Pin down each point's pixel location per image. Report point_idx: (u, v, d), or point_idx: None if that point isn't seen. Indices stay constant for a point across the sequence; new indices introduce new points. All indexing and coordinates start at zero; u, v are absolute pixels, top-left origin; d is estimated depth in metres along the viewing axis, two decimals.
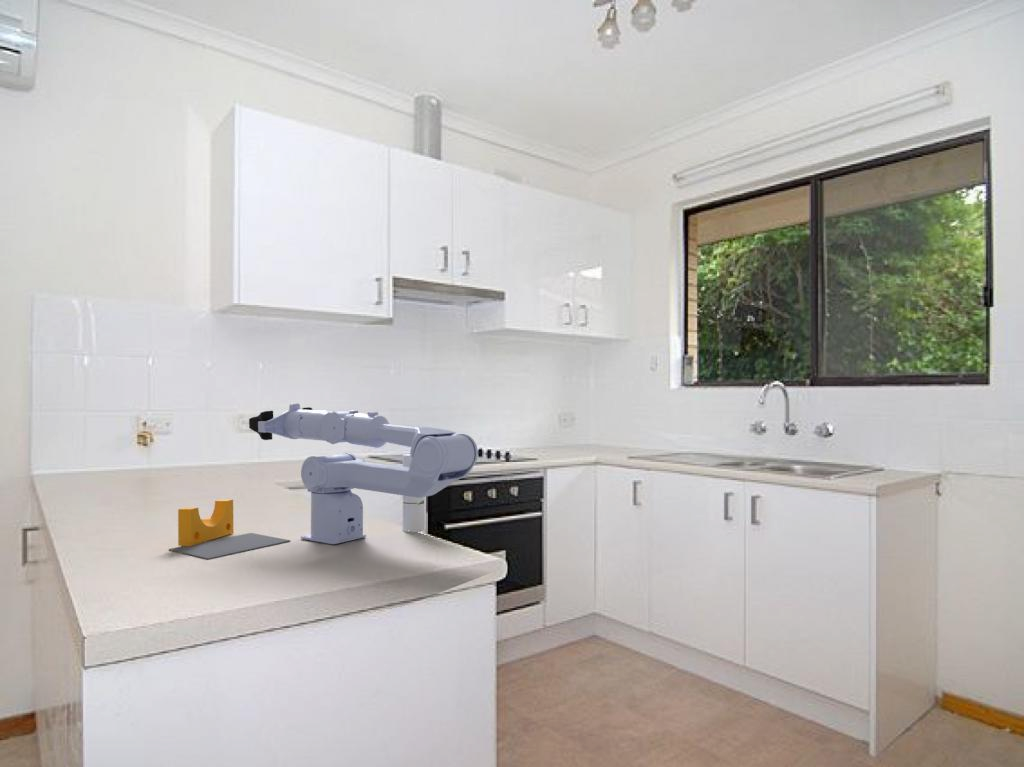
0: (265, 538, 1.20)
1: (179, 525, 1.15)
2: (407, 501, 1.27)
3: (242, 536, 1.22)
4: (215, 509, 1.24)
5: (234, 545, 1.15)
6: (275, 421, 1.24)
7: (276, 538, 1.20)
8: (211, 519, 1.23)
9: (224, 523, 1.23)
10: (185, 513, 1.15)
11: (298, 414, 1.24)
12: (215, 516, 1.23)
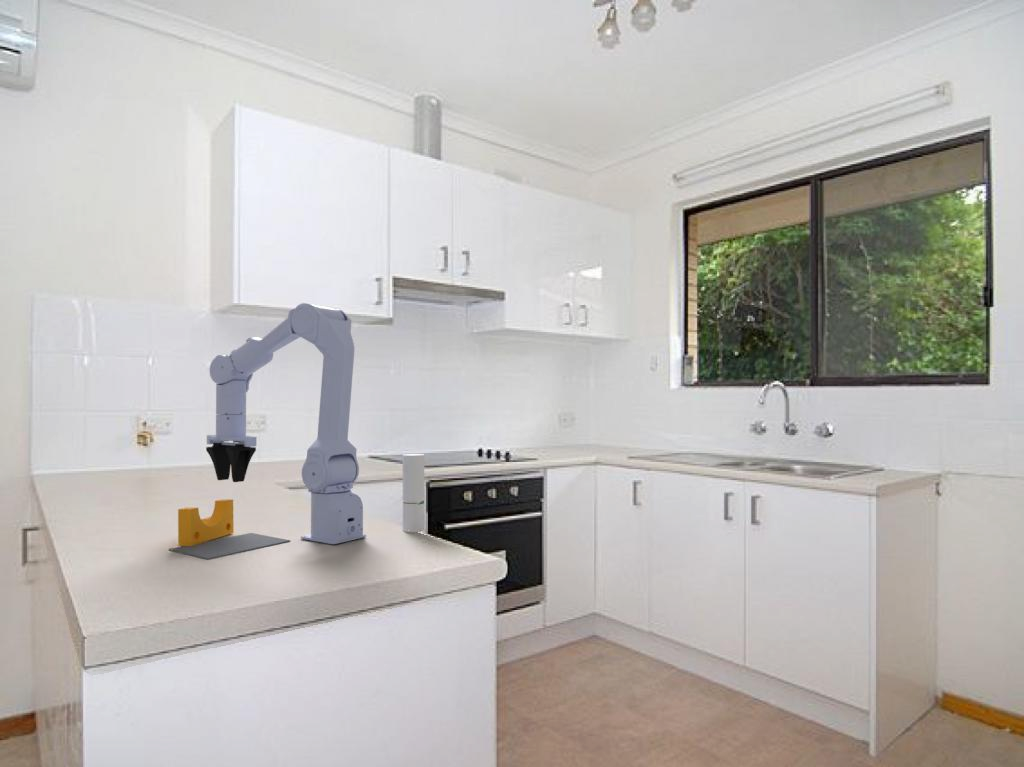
0: (265, 538, 1.20)
1: (179, 525, 1.15)
2: (407, 501, 1.27)
3: (242, 536, 1.22)
4: (215, 509, 1.24)
5: (234, 545, 1.15)
6: (240, 437, 1.30)
7: (276, 538, 1.20)
8: (211, 519, 1.23)
9: (224, 523, 1.23)
10: (185, 513, 1.15)
11: (227, 420, 1.30)
12: (215, 516, 1.23)
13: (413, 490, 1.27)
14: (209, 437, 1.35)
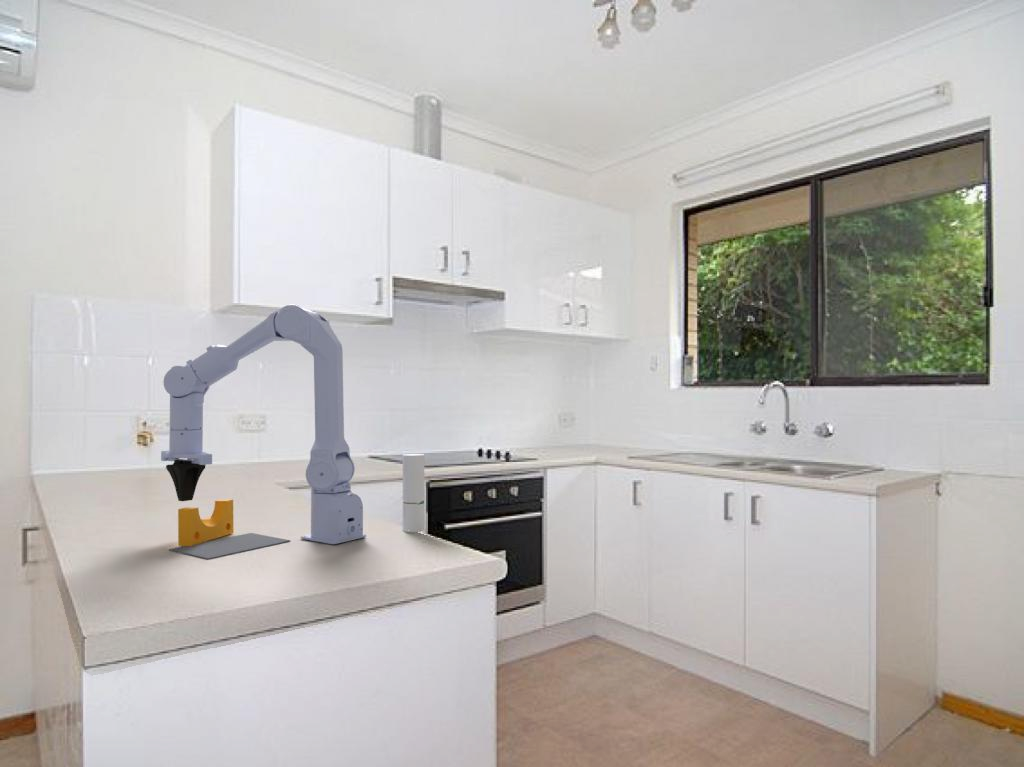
0: (265, 538, 1.20)
1: (179, 525, 1.15)
2: (407, 501, 1.27)
3: (242, 536, 1.22)
4: (215, 509, 1.24)
5: (234, 545, 1.15)
6: None
7: (276, 538, 1.20)
8: (211, 519, 1.23)
9: (224, 523, 1.23)
10: (185, 513, 1.15)
11: (181, 436, 1.21)
12: (215, 516, 1.23)
13: (413, 490, 1.27)
14: (163, 453, 1.26)
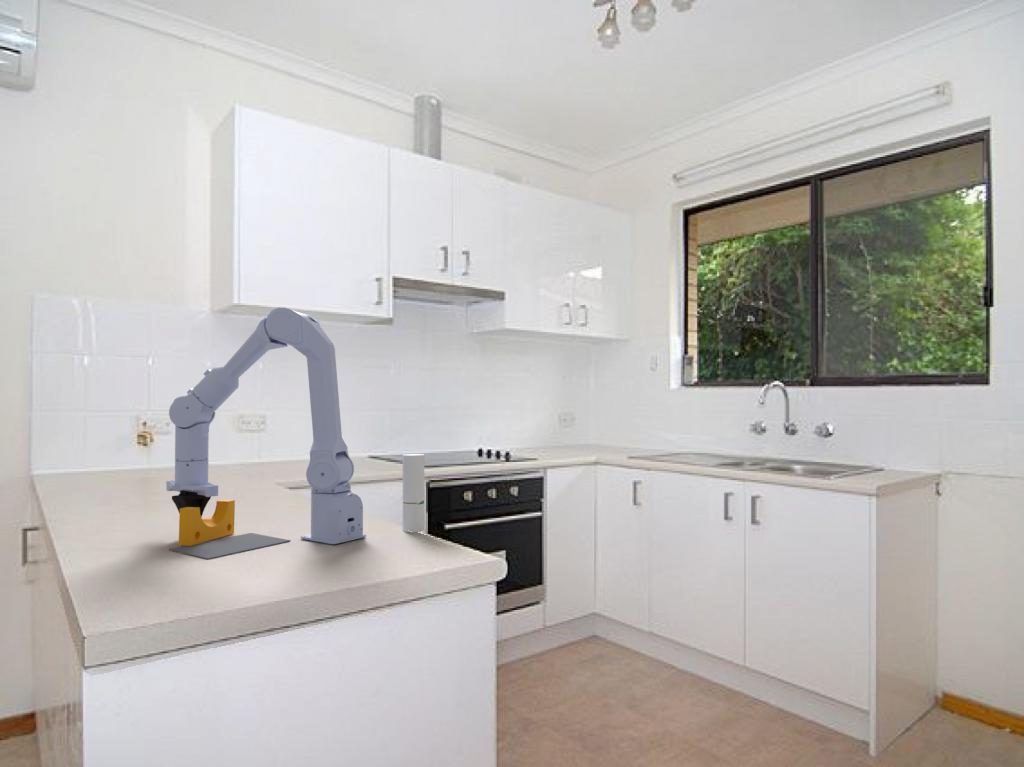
0: (265, 538, 1.20)
1: (180, 525, 1.15)
2: (407, 501, 1.27)
3: (242, 536, 1.22)
4: (216, 509, 1.24)
5: (234, 545, 1.15)
6: (201, 486, 1.20)
7: (276, 538, 1.20)
8: (212, 519, 1.23)
9: (225, 523, 1.23)
10: (186, 513, 1.14)
11: (187, 467, 1.20)
12: (216, 516, 1.23)
13: (413, 490, 1.27)
14: (169, 483, 1.25)
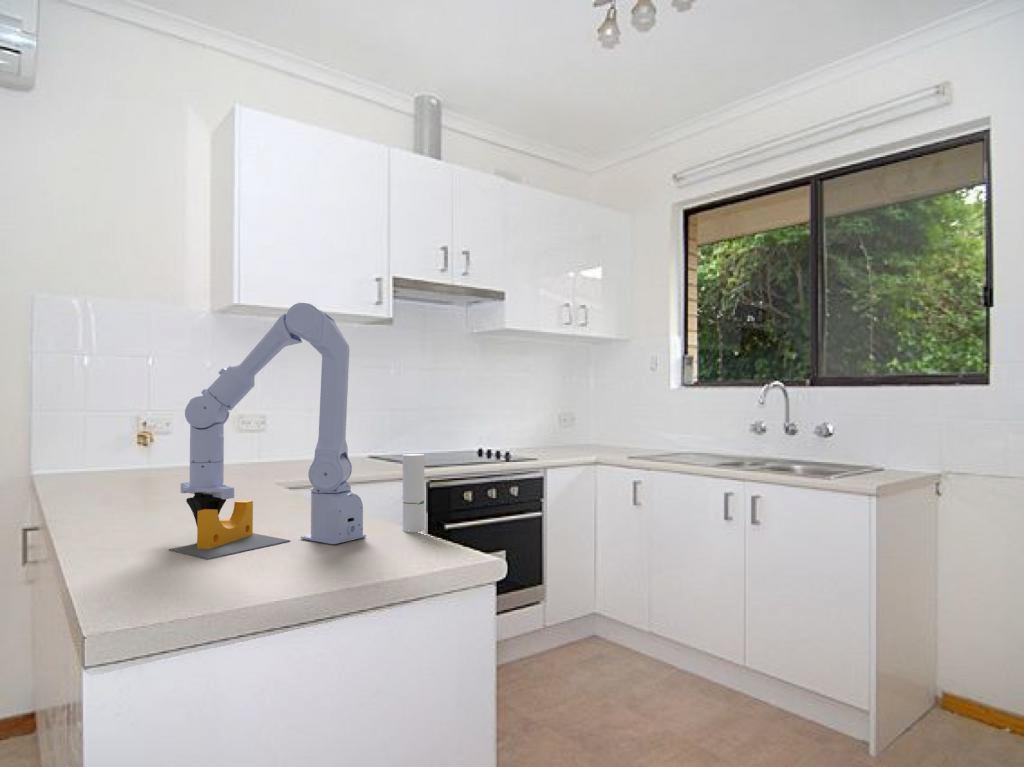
0: (265, 538, 1.20)
1: (198, 527, 1.13)
2: (407, 501, 1.27)
3: None
4: (234, 510, 1.22)
5: (234, 545, 1.15)
6: (216, 488, 1.17)
7: (276, 538, 1.20)
8: (230, 520, 1.21)
9: (243, 525, 1.21)
10: (204, 516, 1.12)
11: (202, 468, 1.17)
12: (234, 517, 1.21)
13: (413, 490, 1.27)
14: (183, 485, 1.22)
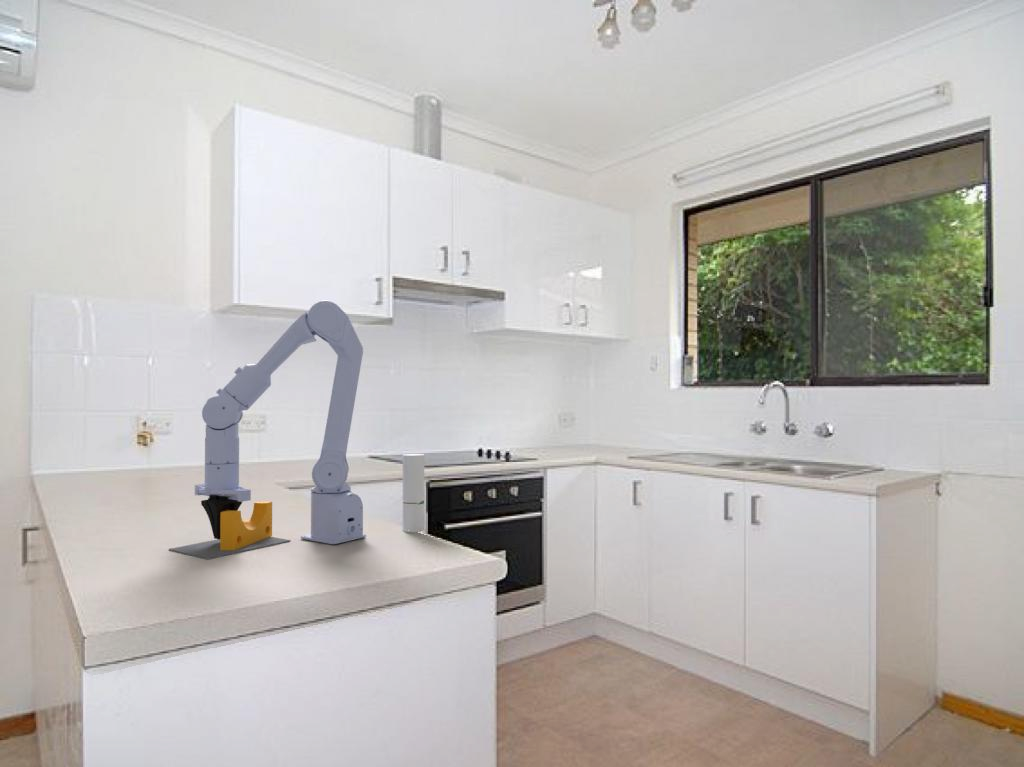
0: (265, 538, 1.20)
1: (221, 529, 1.11)
2: (407, 501, 1.27)
3: None
4: (254, 511, 1.21)
5: None
6: (232, 490, 1.14)
7: (276, 538, 1.20)
8: (250, 522, 1.20)
9: (264, 526, 1.20)
10: (228, 517, 1.11)
11: (218, 470, 1.15)
12: (254, 518, 1.20)
13: (413, 490, 1.27)
14: (197, 487, 1.20)
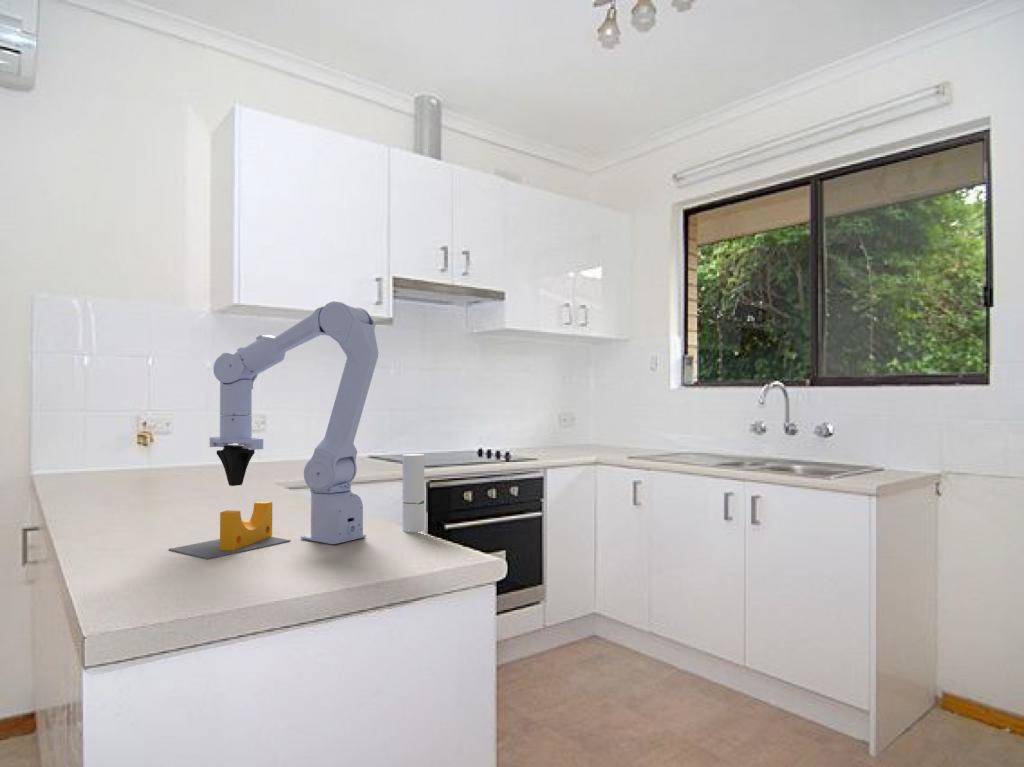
0: (265, 538, 1.20)
1: (221, 529, 1.11)
2: (407, 501, 1.27)
3: None
4: (254, 511, 1.21)
5: None
6: None
7: (276, 538, 1.20)
8: (250, 522, 1.20)
9: (264, 526, 1.20)
10: (227, 517, 1.11)
11: (232, 421, 1.24)
12: (254, 518, 1.20)
13: (413, 490, 1.27)
14: (212, 439, 1.29)
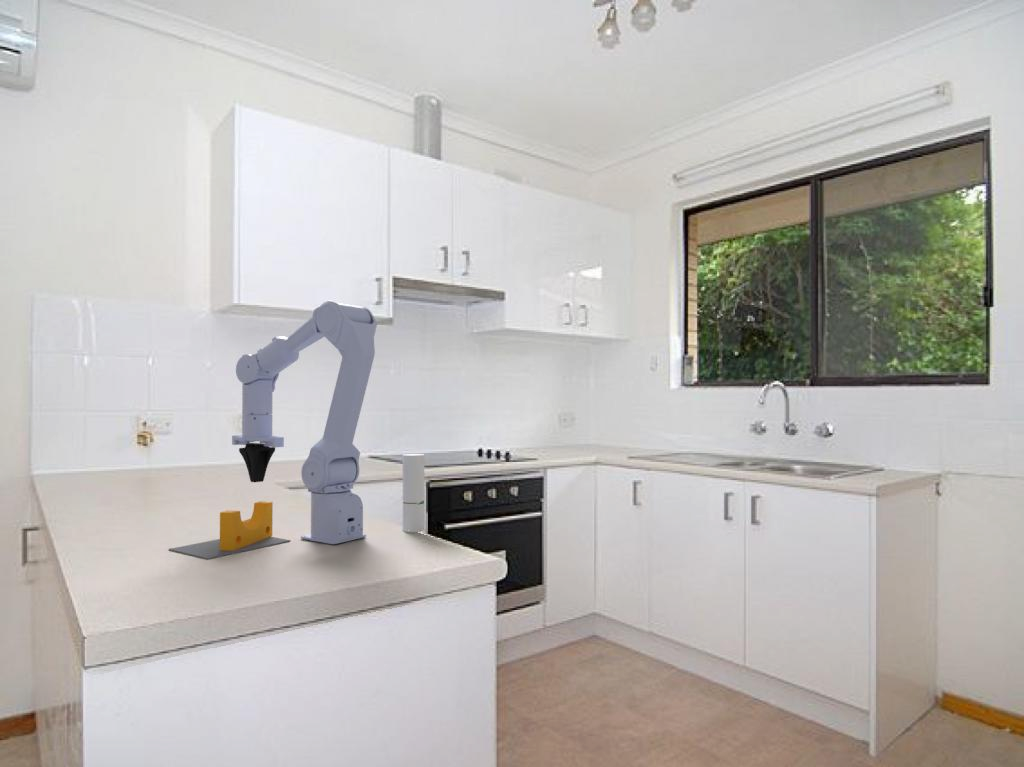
0: None
1: (221, 529, 1.11)
2: (407, 501, 1.27)
3: None
4: (254, 511, 1.21)
5: None
6: None
7: (276, 538, 1.20)
8: (251, 522, 1.19)
9: (264, 526, 1.20)
10: (227, 517, 1.11)
11: (254, 420, 1.29)
12: (255, 519, 1.20)
13: (413, 490, 1.27)
14: (235, 437, 1.34)
